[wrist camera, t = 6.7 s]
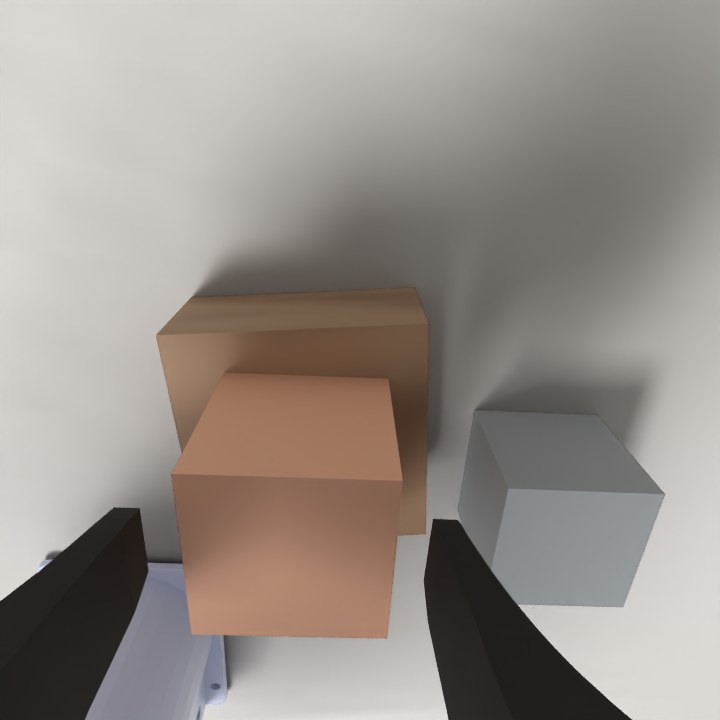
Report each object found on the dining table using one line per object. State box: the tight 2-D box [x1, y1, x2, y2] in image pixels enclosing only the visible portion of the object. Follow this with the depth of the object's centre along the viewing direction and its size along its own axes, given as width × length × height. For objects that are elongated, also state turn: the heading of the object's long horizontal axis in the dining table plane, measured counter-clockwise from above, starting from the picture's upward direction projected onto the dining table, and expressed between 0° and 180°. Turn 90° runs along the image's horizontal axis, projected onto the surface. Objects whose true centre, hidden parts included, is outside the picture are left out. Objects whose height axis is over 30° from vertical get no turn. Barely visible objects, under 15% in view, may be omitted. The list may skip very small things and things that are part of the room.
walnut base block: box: [156, 287, 429, 535], centre depth 19 cm, size 8×8×4 cm
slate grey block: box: [458, 410, 665, 607], centre depth 20 cm, size 5×5×5 cm
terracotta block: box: [171, 373, 403, 638], centre depth 14 cm, size 5×5×5 cm
